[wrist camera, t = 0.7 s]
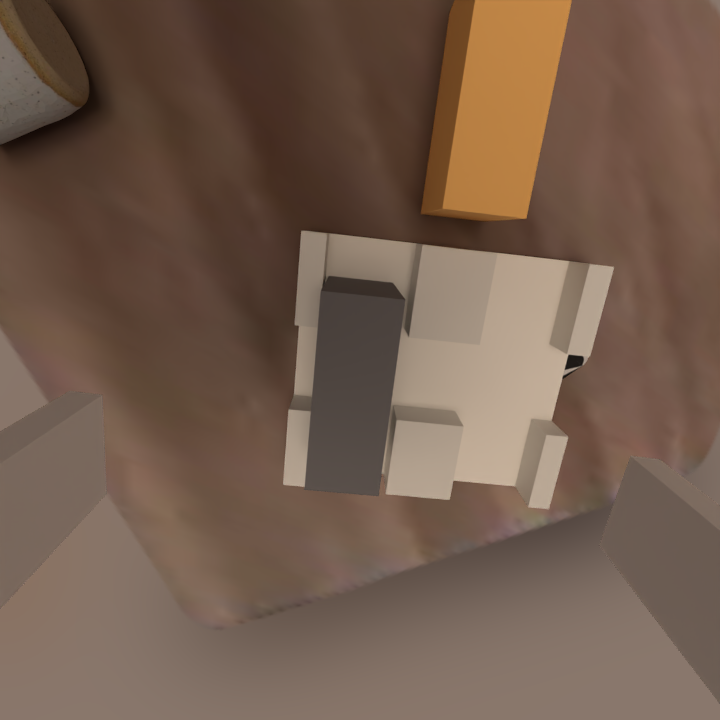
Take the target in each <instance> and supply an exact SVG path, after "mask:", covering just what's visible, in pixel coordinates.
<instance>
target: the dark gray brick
mask: <svg viewBox="0 0 720 720" xmlns="http://www.w3.org/2000/svg"><path fill="white" fill-rule="evenodd" d="M404 307H405V298H404V297H403V296H402V294H401V293H400V292H399V290H398V289H397V288H396V286H395V285H394V284H393V283H392V282H382V281H373V280H364V279H354V278H345V277H336V276H329V277H328V279H327V281H326V282H325V284H324V286H323V288H322V289H321V293H320V306H319V318H318V330H317V342H316V354H315V366H314V379H313V391H312V403H311V415H310V427H309V439H308V452H307V464H306V476H305V488H304V490H314V491H325V492H337V493H348V494H360V495H371V496H379V489H380V482H381V474H382V467H383V460H384V453H385V445H386V438H387V431H388V423H389V416H390V409H391V402H392V394H393V387H394V380H395V372H396V365H397V358H398V351H399V343H400V336H401V329H402V321H403V314H404Z"/></svg>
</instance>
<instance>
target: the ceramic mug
mask: <svg viewBox="0 0 720 720" xmlns="http://www.w3.org/2000/svg"><path fill="white" fill-rule="evenodd" d="M88 96H89V81H88V76H87V73H86V70H85V67H84V64H83V62H82V60H81V58H80V55H79V53H78V51H77V49H76V47H75V45H74V43H73V41H72V40H71V38H70V36H69V34H68V32H67V31H66V29H65V28H64V26H63V25H62V23H61V21H60V20H59V18H58V17H57V16H56V14H55V13H54V11H53V10H52V9H51V7H50V6H49V4H48V3H47V2H46V1H45V0H0V145H1V144H3V143H6V142H8V141H11V140H13V139H15V138H18V137H20V136H22V135H25V134H27V133H29V132H31V131H34V130H36V129H38V128H40V127H43V126H45V125H48V124H51V123H53V122H56V121H59V120H61V119H63V118H65V117H67V116H69V115H71V114H72V113H74V112H75V111H76V110H78V109H80V108H81V107H82V106H83V105H84V104H85V103H86V102H87V100H88Z"/></svg>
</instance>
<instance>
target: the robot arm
mask: <svg viewBox="0 0 720 720" xmlns="http://www.w3.org/2000/svg"><path fill="white" fill-rule="evenodd" d="M106 494H107V491H106V467H105V443H104V420H103V396H102V395H100V394H91V393H83V392H74V391H69V392H67V393H65V394H64V395H62V396H60V397H58V398H57V399H55V400H53V401H51V402H50V403H48V404H46V405H45V406H43V407H41V408H39V409H38V410H36V411H34V412H33V413H31V414H29V415H27V416H26V417H24V418H22V419H21V420H19V421H17V422H16V423H14V424H12V425H10V426H9V427H7V428H5V429H3V430H2V431H0V609H1V608H2V607H3V606H4V605H5V604H6V602H7V601H8V600H9V599H10V598H11V597H12V596H13V595H14V594H15V593H16V592H17V591H18V589H19V588H20V587H21V586H22V585H23V584H24V583H25V582H26V581H27V580H28V579H29V577H30V576H31V575H32V574H33V573H34V572H35V571H36V570H37V569H38V568H39V567H40V566H41V565H42V563H43V562H44V561H45V560H46V559H47V558H48V557H49V556H50V555H51V554H52V553H53V552H54V550H55V549H56V548H57V547H58V546H59V545H60V544H61V543H62V542H63V541H64V540H65V539H66V537H67V536H68V535H69V534H70V533H71V532H72V531H73V530H74V529H75V528H76V527H77V526H78V524H79V523H80V522H81V521H82V520H83V519H84V518H85V517H86V516H87V515H88V514H89V513H90V512H91V510H92V509H93V508H94V507H95V506H96V505H97V504H98V503H99V501H101V499H102V498H103V497H104V496H105V495H106ZM599 546H600V547H601V549H602V550H603V551H604V552H605V554H606V555H607V557H608V558H609V559H610V561H611V562H612V563H613V564H614V566H615V567H616V568H617V570H618V571H619V572H620V574H621V575H622V576H623V578H624V579H625V580H626V581H627V583H628V584H629V585H630V587H631V588H632V589H633V591H634V592H635V593H636V594H637V596H638V597H639V598H640V600H641V601H642V602H643V604H644V605H645V606H646V608H647V609H648V610H649V612H650V613H651V614H652V616H653V617H654V618H655V620H656V621H657V622H658V623H659V625H660V626H661V627H662V629H663V630H664V631H665V633H666V634H667V635H668V637H669V638H670V639H671V640H672V642H673V643H674V644H675V646H676V647H677V648H678V650H679V651H680V652H681V653H682V655H683V656H684V657H685V659H686V660H687V661H688V663H689V664H690V665H691V667H692V668H693V669H694V671H695V672H696V673H697V674H698V676H699V677H700V679H701V680H702V681H703V682H704V684H705V685H706V686H707V688H708V689H709V690H710V692H711V693H712V694H713V696H714V697H715V698H716V699H717V701H718V702H719V703H720V505H718V504H717V503H716V502H714V501H713V500H712V499H711V498H709V497H708V496H707V495H705V494H704V493H703V492H702V491H700V490H699V489H698V488H696V487H695V486H694V485H692V484H691V483H690V482H688V481H687V480H686V479H685V478H683V477H682V476H681V475H679V474H678V473H677V472H675V471H674V470H673V469H672V468H670V467H669V466H668V465H666V464H665V463H664V462H662V461H661V460H660V459H653V458H644V457H636V456H630V459H629V462H628V465H627V468H626V470H625V473H624V476H623V479H622V482H621V485H620V488H619V490H618V493H617V496H616V499H615V502H614V505H613V507H612V510H611V514H610V516H609V519H608V522H607V525H606V527H605V530H604V533H603V536H602V539H601V542H600V545H599Z"/></svg>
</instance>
